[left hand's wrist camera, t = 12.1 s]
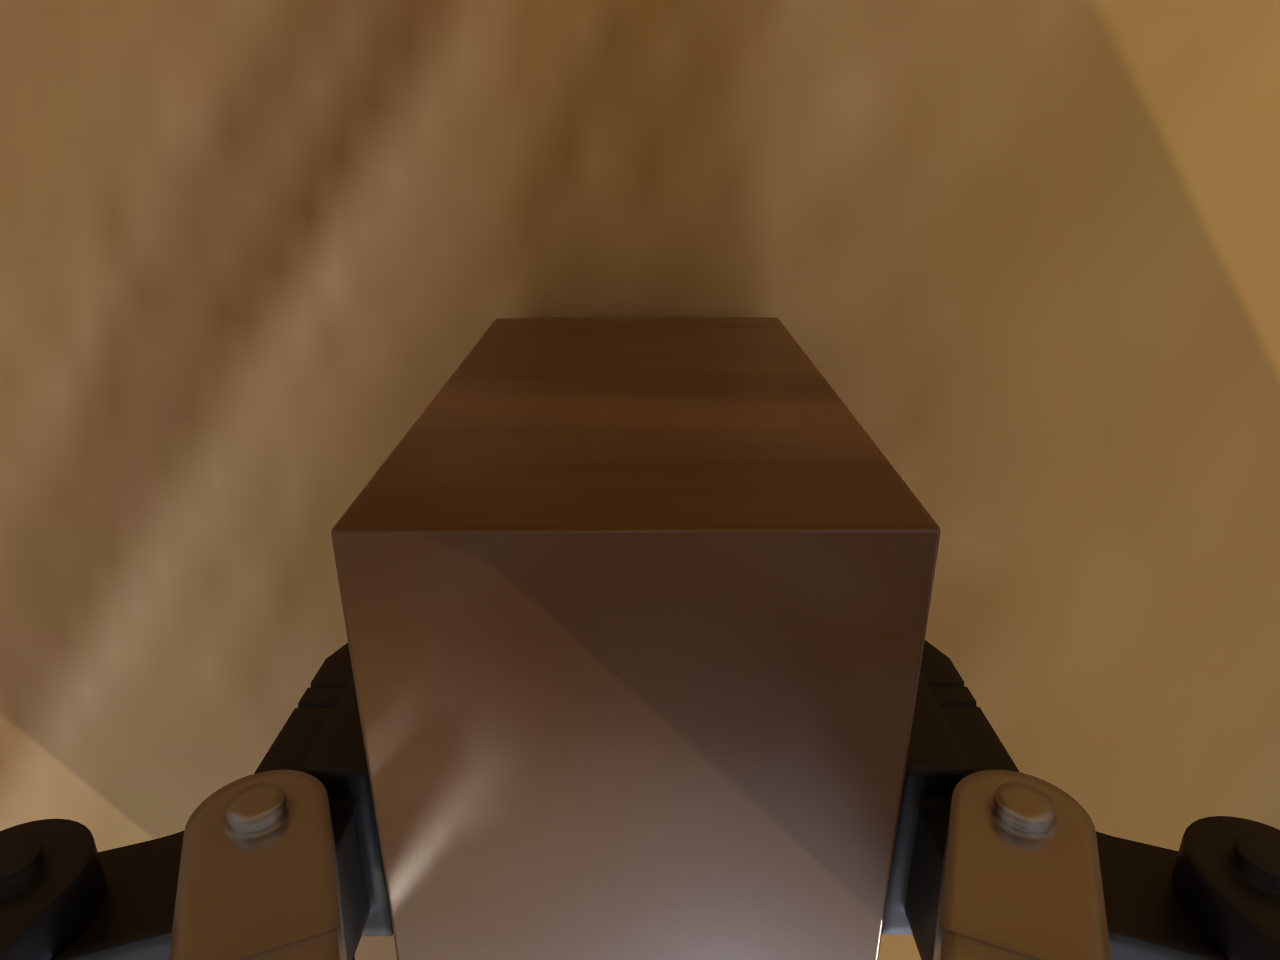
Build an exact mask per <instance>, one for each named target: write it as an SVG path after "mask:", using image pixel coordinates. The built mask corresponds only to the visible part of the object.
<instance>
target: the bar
mask: <svg viewBox="0 0 1280 960" xmlns="http://www.w3.org/2000/svg"><path fill="white" fill-rule="evenodd" d="M331 535H332V541H333V548H334V554H335V561H336V567H337V574H338V580H339V586H340V593H341V599H342V606H343V612H344V619H345V625H346V631H347V638H348V644H349V651H350V657H351V664H352V670H353V676H354V683H355V689H356V696H357V702H358V709H359V715H360V721H361V728H362V734H363V741H364V747H365V754H366V760H367V767H368V773H369V779H370V786H371V792H372V799H373V805H374V812H375V818H376V824H377V831H378V837H379V844H380V850H381V857H382V863H383V869H384V876H385V882H386V889H387V895H388V902H389V908H390V914H391V921H392V927H393V934H394V940H395V947H396V953H397V959H398V960H878V956H879V949H880V942H881V935H882V928H883V921H884V914H885V908H886V901H887V894H888V887H889V880H890V873H891V867H892V860H893V853H894V846H895V839H896V832H897V825H898V819H899V812H900V805H901V798H902V791H903V784H904V777H905V771H906V764H907V757H908V750H909V743H910V736H911V730H912V723H913V716H914V709H915V702H916V695H917V688H918V682H919V675H920V668H921V661H922V654H923V647H924V641H925V634H926V627H927V620H928V613H929V606H930V599H931V593H932V586H933V579H934V572H935V565H936V558H937V551H938V545H939V538H940V528H939V526H938V525H937V523H936V522H935V521H934V520H933V518H932V517H931V516H930V514H929V513H928V512H927V510H926V509H925V508H924V507H923V505H922V504H921V503H920V501H919V500H918V499H917V498H916V496H915V495H914V494H913V492H912V491H911V490H910V488H909V487H908V486H907V485H906V483H905V482H904V481H903V479H902V478H901V477H900V476H899V474H898V473H897V472H896V470H895V469H894V468H893V466H892V465H891V464H890V463H889V461H888V460H887V459H886V457H885V456H884V455H883V454H882V452H881V451H880V450H879V448H878V447H877V446H876V444H875V443H874V442H873V441H872V439H871V438H870V437H869V435H868V434H867V433H866V432H865V430H864V429H863V428H862V426H861V425H860V424H859V422H858V421H857V420H856V419H855V417H854V416H853V415H852V413H851V412H850V411H849V409H848V408H847V407H846V406H845V404H844V403H843V402H842V400H841V399H840V398H839V397H838V395H837V394H836V393H835V391H834V390H833V389H832V387H831V386H830V385H829V384H828V382H827V381H826V380H825V378H824V377H823V376H822V375H821V373H820V372H819V371H818V369H817V368H816V367H815V365H814V364H813V363H812V362H811V360H810V359H809V358H808V356H807V355H806V354H805V353H804V351H803V350H802V349H801V347H800V346H799V345H798V343H797V342H796V341H795V340H794V338H793V337H792V336H791V334H790V333H789V332H788V331H787V329H786V328H785V327H784V325H783V324H782V323H781V321H780V320H779V319H778V318H533V319H496V320H495V321H494V322H493V324H492V325H491V326H490V328H489V329H488V330H487V331H486V333H485V334H484V335H483V337H482V338H481V339H480V340H479V342H478V343H477V344H476V345H475V347H474V348H473V349H472V351H471V352H470V353H469V354H468V356H467V357H466V358H465V360H464V361H463V362H462V363H461V365H460V366H459V367H458V369H457V370H456V371H455V372H454V374H453V375H452V376H451V378H450V379H449V380H448V381H447V383H446V384H445V385H444V386H443V388H442V389H441V390H440V392H439V393H438V394H437V395H436V397H435V398H434V399H433V401H432V402H431V403H430V404H429V406H428V407H427V408H426V410H425V411H424V412H423V413H422V415H421V416H420V417H419V418H418V420H417V421H416V422H415V424H414V425H413V426H412V427H411V429H410V430H409V431H408V433H407V434H406V435H405V436H404V438H403V439H402V440H401V442H400V443H399V444H398V445H397V447H396V448H395V449H394V451H393V452H392V453H391V454H390V456H389V457H388V458H387V459H386V461H385V462H384V463H383V465H382V466H381V467H380V468H379V470H378V471H377V472H376V474H375V475H374V476H373V477H372V479H371V480H370V481H369V483H368V484H367V485H366V486H365V488H364V489H363V490H362V491H361V493H360V494H359V495H358V497H357V498H356V499H355V500H354V502H353V503H352V504H351V506H350V507H349V508H348V509H347V511H346V512H345V513H344V515H343V516H342V517H341V518H340V520H339V521H338V522H337V524H336V525H335V526H334V527H333V529H332V532H331Z"/></svg>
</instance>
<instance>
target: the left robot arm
mask: <svg viewBox="0 0 1280 960" xmlns="http://www.w3.org/2000/svg"><path fill="white" fill-rule="evenodd" d="M882 934H913V936H914V939H915V942H916V945H917V948H918V951H919V953H920V956H921V959H922V960H1280V830H1278V829H1276V828H1273V827H1271V826H1268V825H1265V824H1262V823H1259V822H1255V821H1251V820H1247V819H1243V818H1236V817H1226V816H1215V817H1207V818H1203V819H1199V820H1197V821H1195V822H1193V823H1192V824H1191V825H1190V826H1189V827H1188V828H1187V829H1186V831H1185V833H1184V835H1183V839H1182V842H1181V845H1180V849H1179V852H1178V851H1174V850H1169V849H1165V848H1161V847H1156V846H1152V845H1148V844H1143V843H1139V842H1134V841H1130V840H1126V839H1121V838H1117V837H1113V836H1109V835H1106V834H1102V833H1099V832H1096V831H1095V827H1094V824H1093V822H1092V820H1091V818H1090V816H1089V815H1088V814H1087V812H1086V811H1085V810H1084V808H1083V807H1082V806H1081V805H1080V804H1079V803H1078V802H1077V801H1076V800H1075V799H1073V798H1072V797H1071V796H1070V795H1068V794H1067V793H1066V792H1064V791H1062V790H1061V789H1059V788H1058V787H1056V786H1054V785H1052V784H1050V783H1048V782H1046V781H1044V780H1042V779H1039V778H1036V777H1034V776H1031V775H1027V774H1024V773H1020V772H1019V770H1018V769H1017V767H1016V766H1015V764H1014V762H1013V761H1012V759H1011V757H1010V756H1009V754H1008V753H1007V751H1006V749H1005V748H1004V746H1003V744H1002V743H1001V741H1000V740H999V738H998V736H997V735H996V733H995V732H994V730H993V728H992V727H991V725H990V723H989V722H988V720H987V719H986V717H985V715H984V714H983V712H982V710H981V709H980V707H977V706H976V701H975V699H974V697H973V696H972V694H971V693H970V691H969V689H968V688H967V687H964V681H963V680H962V678H961V676H960V675H959V673H958V672H957V670H956V668H955V667H954V665H953V663H952V662H951V660H950V659H949V658H948V657H947V656H946V655H944V654H943V653H942V652H940V651H939V650H938V649H936V648H935V647H934V646H932V645H931V644H930V643H928V642H927V641H926V640H925V641H924V647H923V654H922V661H921V668H920V675H919V682H918V688H917V695H916V702H915V709H914V716H913V723H912V730H911V736H910V743H909V750H908V757H907V764H906V771H905V777H904V784H903V791H902V798H901V805H900V812H899V819H898V825H897V832H896V839H895V846H894V853H893V860H892V867H891V873H890V880H889V887H888V894H887V901H886V908H885V914H884V921H883V928H882ZM392 935H393V927H392V921H391V914H390V908H389V902H388V895H387V889H386V882H385V876H384V869H383V863H382V857H381V850H380V844H379V837H378V831H377V824H376V818H375V812H374V805H373V799H372V792H371V786H370V779H369V773H368V767H367V760H366V754H365V747H364V741H363V734H362V728H361V721H360V715H359V709H358V702H357V696H356V689H355V683H354V676H353V670H352V664H351V657H350V651H349V644H348V643H347V644H346V645H344V646H343V647H342V648H340V649H339V650H337V651H336V652H335V653H333V654H332V655H331V656H329V657H328V658H327V659H326V660H325V661H324V663H323V665H322V666H321V668H320V669H319V671H318V672H317V674H316V676H315V677H314V679H313V680H312V682H311V688H307V690H306V692H305V693H304V695H303V696H302V698H301V700H300V701H299V703H298V708H295V709H294V711H293V712H292V714H291V716H290V717H289V719H288V720H287V722H286V724H285V725H284V727H283V728H282V730H281V732H280V733H279V735H278V736H277V738H276V740H275V741H274V743H273V744H272V746H271V748H270V749H269V751H268V752H267V754H266V756H265V757H264V759H263V760H262V762H261V764H260V765H259V767H258V768H257V770H256V772H255V773H254V774H253V775H249V776H246V777H244V778H241V779H238V780H236V781H234V782H232V783H230V784H228V785H226V786H224V787H222V788H221V789H219V790H218V791H216V792H214V793H213V794H212V795H210V796H209V797H208V798H207V799H205V800H204V801H203V802H202V803H201V804H200V805H199V806H198V807H197V808H196V810H195V811H194V812H193V814H192V815H191V816H190V818H189V820H188V822H187V824H186V827H185V830H184V831H182V832H179V833H176V834H173V835H170V836H166V837H163V838H159V839H155V840H151V841H146V842H142V843H138V844H133V845H129V846H124V847H120V848H116V849H111V850H107V851H103V852H97V848H96V845H95V842H94V838H93V836H92V834H91V832H90V830H89V829H88V828H87V827H86V826H84V825H82V824H80V823H78V822H75V821H71V820H66V819H45V820H39V821H32V822H28V823H24V824H20V825H17V826H14V827H11V828H8V829H5V830H3V831H0V960H355V957H354V955H355V952H356V949H357V946H358V944H359V941H360V938H361V936H392Z"/></svg>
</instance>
